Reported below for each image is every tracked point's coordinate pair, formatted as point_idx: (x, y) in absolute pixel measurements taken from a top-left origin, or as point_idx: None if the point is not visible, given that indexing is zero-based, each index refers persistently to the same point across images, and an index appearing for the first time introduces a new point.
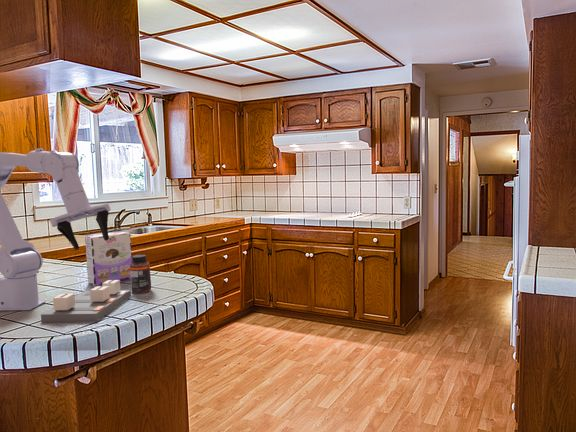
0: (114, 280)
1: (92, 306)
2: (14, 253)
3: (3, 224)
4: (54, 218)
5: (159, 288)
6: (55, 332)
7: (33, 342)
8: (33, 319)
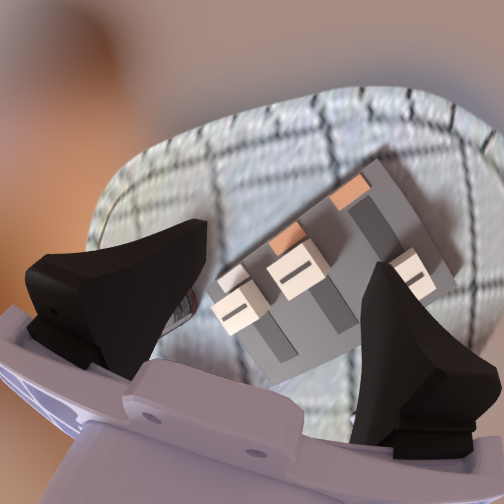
0: (222, 315)
1: (347, 232)
2: None
3: None
4: (489, 490)
5: None
6: (470, 172)
7: None
8: (447, 320)
